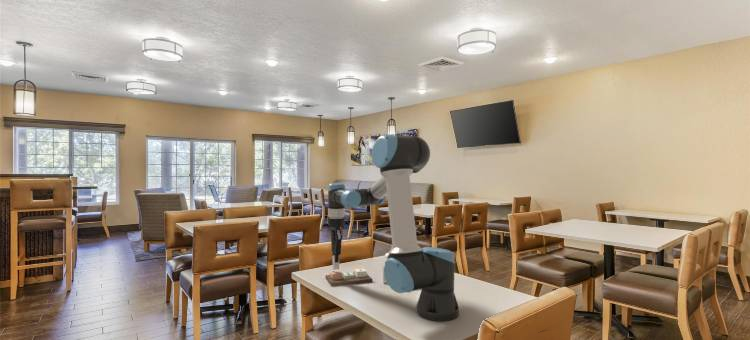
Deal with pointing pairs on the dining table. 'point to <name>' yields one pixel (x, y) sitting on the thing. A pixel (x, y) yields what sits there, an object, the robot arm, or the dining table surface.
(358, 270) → the tile
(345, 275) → the tile
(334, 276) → the tile
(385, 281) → the container
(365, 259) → the dining table surface
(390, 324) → the dining table surface
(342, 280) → the board
